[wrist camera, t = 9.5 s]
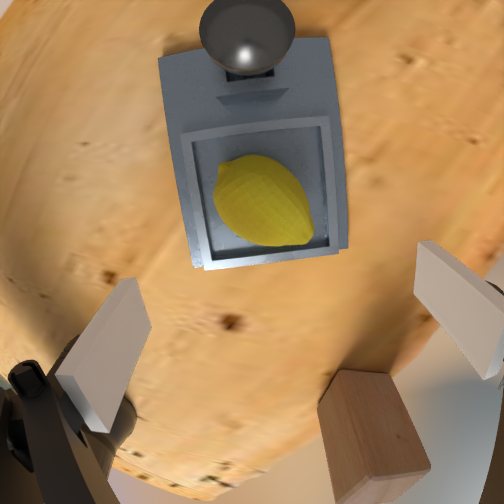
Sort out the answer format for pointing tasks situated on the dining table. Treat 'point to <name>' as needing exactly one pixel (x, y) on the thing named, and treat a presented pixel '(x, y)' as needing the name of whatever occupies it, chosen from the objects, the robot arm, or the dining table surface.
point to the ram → (247, 34)
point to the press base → (256, 145)
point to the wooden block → (369, 439)
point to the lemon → (262, 202)
